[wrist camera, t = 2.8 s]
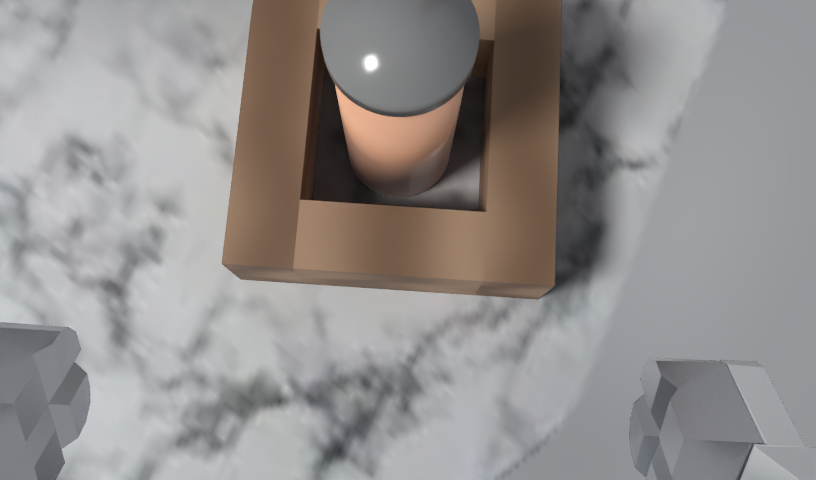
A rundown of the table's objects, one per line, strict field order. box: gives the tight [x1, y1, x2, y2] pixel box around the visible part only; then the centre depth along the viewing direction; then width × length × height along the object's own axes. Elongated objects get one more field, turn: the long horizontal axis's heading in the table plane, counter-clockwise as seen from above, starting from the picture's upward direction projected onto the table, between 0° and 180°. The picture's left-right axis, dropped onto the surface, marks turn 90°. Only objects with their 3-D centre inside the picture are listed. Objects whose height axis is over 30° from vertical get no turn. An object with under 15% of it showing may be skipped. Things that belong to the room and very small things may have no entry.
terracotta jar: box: [320, 0, 480, 197], centre depth 32 cm, size 5×5×12 cm
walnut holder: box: [222, 0, 562, 299], centre depth 36 cm, size 14×14×4 cm
